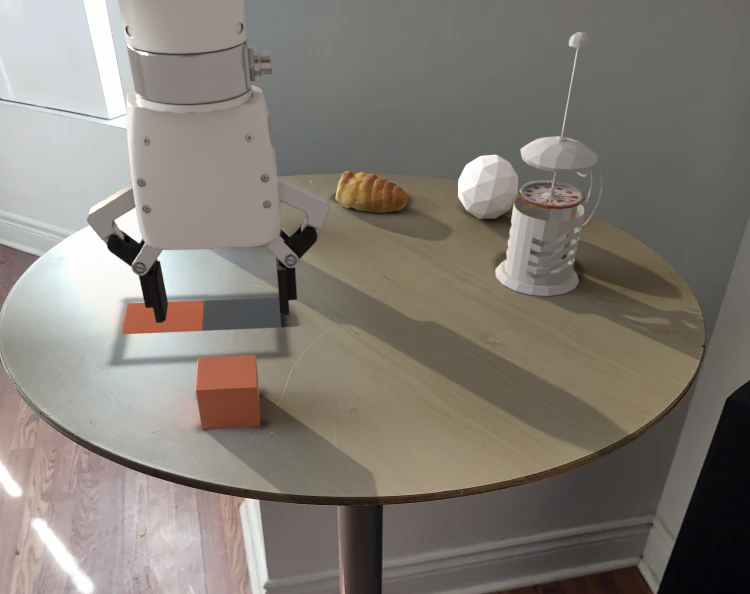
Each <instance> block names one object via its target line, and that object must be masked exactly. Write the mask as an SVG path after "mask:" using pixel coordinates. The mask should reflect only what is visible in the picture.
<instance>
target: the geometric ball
mask: <svg viewBox="0 0 750 594" xmlns="http://www.w3.org/2000/svg"><path fill="white" fill-rule="evenodd" d="M457 181H458V183H457V186H458V187H457V188H458V189H457V191H458V192H457V198H458V199H459V201H460V203H461V204H462V206H463V207H464V209H465V210H466V212H467V213H469V214H470V215H473V216H474V217H476V218H477V219H478V220H491V219H493V220H494V219H498V217H500V216H501V215H504V214H505V213H507V212H509V211H510V210H511V208H512V207H513V205H514V202H515V201H516V199H517V196H518V194H519V176H518V174H517V172H516V171H515V168H514V167H513V165H512V164H511V162H509V161H508V160H506V159H504V158H503V157H501V156H500V155H498V154H489V155H480V156H478V157H476V158H475V159H473V160H472V161H470V162H468V163H467V164H465V166H464V168H463V170H462V172H461V174H460V176H459V178H458V180H457Z"/></svg>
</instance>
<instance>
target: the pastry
mask: <svg viewBox="0 0 750 594" xmlns="http://www.w3.org/2000/svg"><path fill="white" fill-rule="evenodd" d="M408 198H409V194H408V192H407V191H405V189H404V188H402V187H401V186H398V184H396V183H395V182H392V181H389V180H388V179H387V178H383V177H379V176H378V175H377V174H376V173H369V174H368V173H366V172H364V171H360V172H357V173H355V172H353V171H351V170H345V171H344V172H343V173H342V174H341V177H340V179H339V180H338V184H337V188H336V193H335V198H334V199H335V201H336V202H337V203H338V204H340V205H341V207H343V208H345V209H349V208H353V209H355V210H356V211H360V212H370V213H372V214H374V213H377V214H380V213H381V214H387V213H391V212H399V211H401V210H402V209H404V208H405V206H407V202H408Z"/></svg>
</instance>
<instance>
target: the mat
mask: <svg viewBox="0 0 750 594" xmlns="http://www.w3.org/2000/svg"><path fill="white" fill-rule="evenodd" d="M278 328H279V329H280V328H283V325H282V314H280V302H279V296H278V297H253V298H252V297H251V298H229V299H227V298H226V299H205V300H204V299H203V300H201V299H200V300H199V299H198V300H179V301H177V300H176V301H175V300H174V301H168V308H167V315H166V321H164V322H163V323H156V320H155V315H154V310H153V308H146V307H145V303H144V302H128V303H127V306H126V310H125V316H124V320H123V325H122V329H121V335H140V334H142V335H143V334H163V333H185V332H209V331H230V330H231V331H233V330H254V329H255V330H256V329H278Z"/></svg>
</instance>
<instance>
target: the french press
mask: <svg viewBox="0 0 750 594" xmlns="http://www.w3.org/2000/svg"><path fill="white" fill-rule="evenodd" d="M589 45H590V37H589V36H588V34H587V33H586V32H583V31H577V32H575V33H574V34H573V35H571V36H570V38H569V41H568V46H569V47H571V48H576V51H575V56H574V63H573V69H572V74H571V79H570V84H569V90H568V95H567V96H568V97H567V102H566V107H565V112H564V118H563V124H562V129H561V134H560V135H557V136H544V137H540V138H536V139H534V140H533V141H531V142H529V143H528V144H525V145H524V146H522V147H521V148H520V156H521V159H522V161H524V162H525V163H526V164H527V165H528V166H531V167H533V168H536V169H538V170H543V171H547V172H551V173H554V175H553V180H549V179H548V180H545V179H544V180H536V181H535V180H534V181H530V182H526V183H523V185H521V187H520V188H518V194H519V197H518V198H516V199H515V200H514V202H513V205H512V214H511V219H510V223H511V226H510V227H509V237H508V240H507V248H506V253H505V256H506V257H505V259H504V260H503V261H501V262H500V264H499V265H498V266H497V267H496V268H495V271H494V272H495V278H496V279H497V280H498V281H499V283H501V285H503V286H504V287H507V288H509V289H511V290H513V291H514V292H517V293H522V294H525V295H530V296H542V297H553V296H558V295H564V294H567V293H569V292H572V291H573V290H575V289H576V287H577V286H578V284H579V283H580V280H579V275H578V273H577V272H576V271H575V269H574V265H575V260H576V254H577V250H578V247H579V246H578V245H579V241H580V237H581V232H582V229H583V228H584V227H585V226H586V225H588V223H589V222H590V221H591V220H592V219H593V217H594V216H595V214H596V212H597V210H598V208H599V206H600V203H601V201H602V195H603V191H604V178H603V173H602V171H601V170H600V168H599V167H598V166H596V163H598V161H599V159H598V156H597V153H596V152H595V151H593V149H591V148H590V147H588V146H587V145H585V144H584V143H583V142H581V141H579V140H577V139H573V138H571V137H566V136H564V133H565V128H566V123H567V117H568V112H569V106H570V102H571V101H570V100H571V96H572V90H573V85H574V78H575V73H576V68H577V62H578V57H579V53H580V49H586V48H588V47H589ZM593 169H595V170H596V172H597V173H598V174H599V175H598V176H599V179H600V191H599V195H598V198H597V202H596V205H595V207H594V208H593V211H592V213H591V215H590V216H589V217H588V218H587V220H586V221H585V222H584V223H583V221H584V217H585V214H586V213H585V212H586V210H585V209H586V208H587V206H588V203H589V201H590V199H591V196H592V193H593V187H594V171H593ZM585 171H586V173H585V174H583V173H582V172H585ZM557 173H561V174H573V173H576V174H577V176H579V177H582V178H587V177H588V175H589V173H590V187H589V190H588V195H587V198H586V196H585V193H584V192H583V191H582V190H581V189H580V188H578V187H577V186H575V185H572V184H569V183H567V182H565V183H564V182H563V181H562V182H561V181H558V180H557V181H556V179H557ZM585 199H586V201H585V203H584V205H582V203H583V202H584V200H585ZM528 205H532V206H535V207H531V208H528V209H526V210H523V211H521V210H522V209H523V208H524V207H525V206H528ZM537 207H539V208H537ZM575 207H576V211H575V216H574V218H573V219H571V216H572V215H571V214H572V210H573V208H575ZM541 208H544V209H541ZM545 209H549V210H550V212H549V211H547V210H545ZM530 215H538V216H542V217H544V218H545V219H548V220H544V219H540V218H535V217H532V216H530ZM569 232H571V235H569V236H567V235H568V233H569ZM534 239H536V240H534ZM537 240H538V241H537ZM542 242H544V243H542ZM568 243H569V244H568ZM567 244H568V246H567V247H566V248H565V245H567ZM565 255H566V257H565V258H563V256H565Z"/></svg>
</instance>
